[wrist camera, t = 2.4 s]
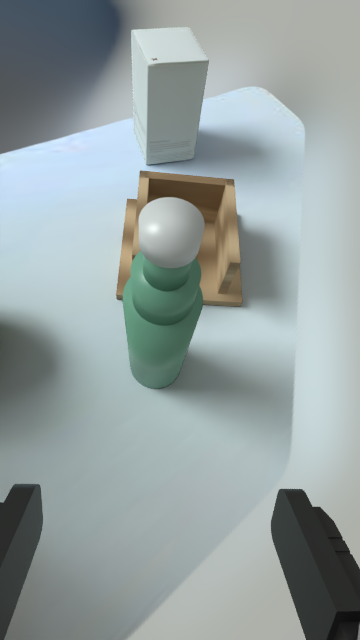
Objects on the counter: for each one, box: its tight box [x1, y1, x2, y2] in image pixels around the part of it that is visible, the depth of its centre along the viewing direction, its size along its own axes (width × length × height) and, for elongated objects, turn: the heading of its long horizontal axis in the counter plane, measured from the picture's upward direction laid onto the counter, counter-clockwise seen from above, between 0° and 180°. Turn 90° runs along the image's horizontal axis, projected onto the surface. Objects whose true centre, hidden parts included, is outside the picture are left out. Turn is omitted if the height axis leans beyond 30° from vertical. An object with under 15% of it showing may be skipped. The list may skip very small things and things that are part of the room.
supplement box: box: [131, 27, 209, 165], centre depth 42 cm, size 7×7×13 cm
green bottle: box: [123, 197, 205, 389], centre depth 24 cm, size 5×5×21 cm
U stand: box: [116, 171, 242, 307], centre depth 37 cm, size 14×14×7 cm
